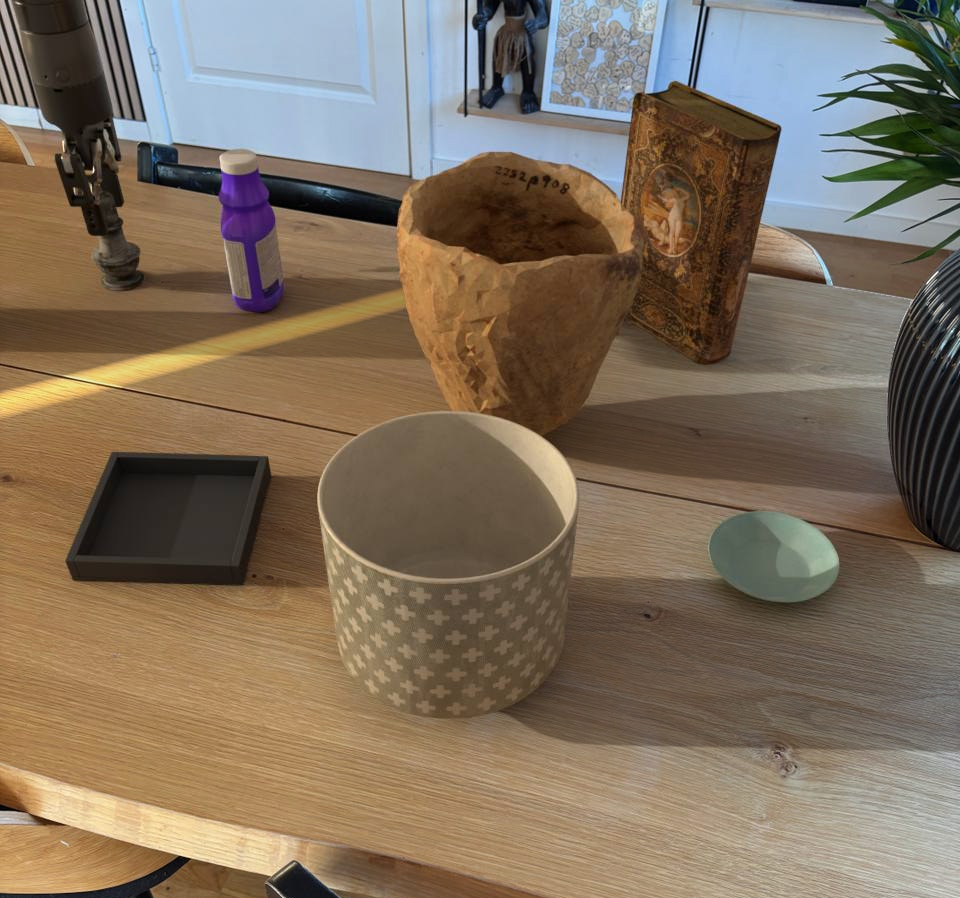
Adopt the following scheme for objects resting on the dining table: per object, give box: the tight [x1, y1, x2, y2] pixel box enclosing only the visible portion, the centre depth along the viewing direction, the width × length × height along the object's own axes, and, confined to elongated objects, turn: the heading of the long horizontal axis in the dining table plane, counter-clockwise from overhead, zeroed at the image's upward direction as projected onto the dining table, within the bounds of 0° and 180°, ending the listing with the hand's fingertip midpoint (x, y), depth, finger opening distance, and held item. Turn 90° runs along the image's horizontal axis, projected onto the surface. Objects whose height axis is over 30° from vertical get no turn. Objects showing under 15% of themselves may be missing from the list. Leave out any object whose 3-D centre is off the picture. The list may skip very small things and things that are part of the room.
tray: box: [64, 451, 272, 586], centre depth 96 cm, size 16×16×2 cm
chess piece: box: [90, 185, 146, 292], centre depth 123 cm, size 6×6×12 cm
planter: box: [316, 410, 580, 720], centre depth 80 cm, size 19×19×18 cm
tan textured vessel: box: [396, 151, 645, 437], centre depth 98 cm, size 22×22×25 cm
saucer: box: [707, 510, 840, 603], centre depth 93 cm, size 12×12×2 cm
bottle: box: [218, 148, 285, 313], centre depth 118 cm, size 7×6×17 cm
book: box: [620, 80, 782, 365], centre depth 112 cm, size 16×6×25 cm, turn 39°
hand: (107, 219), depth 122 cm, fingers open, 6 cm apart
